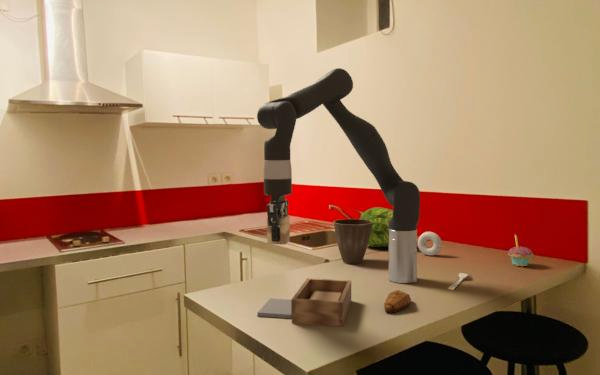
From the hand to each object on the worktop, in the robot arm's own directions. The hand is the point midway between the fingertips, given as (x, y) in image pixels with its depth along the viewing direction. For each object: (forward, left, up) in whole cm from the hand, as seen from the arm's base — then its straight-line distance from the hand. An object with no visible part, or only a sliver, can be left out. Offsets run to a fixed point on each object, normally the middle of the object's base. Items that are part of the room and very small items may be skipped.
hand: (278, 239), depth 125 cm
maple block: (0, 0, -1) cm, 1 cm away
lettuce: (-25, -88, -20) cm, 94 cm away
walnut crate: (-12, -1, -20) cm, 23 cm away
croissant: (-32, -8, -20) cm, 38 cm away
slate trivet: (0, 0, -20) cm, 20 cm away
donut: (-44, -75, -20) cm, 89 cm away
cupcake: (-76, -63, -20) cm, 101 cm away
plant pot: (-14, -59, -20) cm, 64 cm away
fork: (-51, -36, -20) cm, 66 cm away
